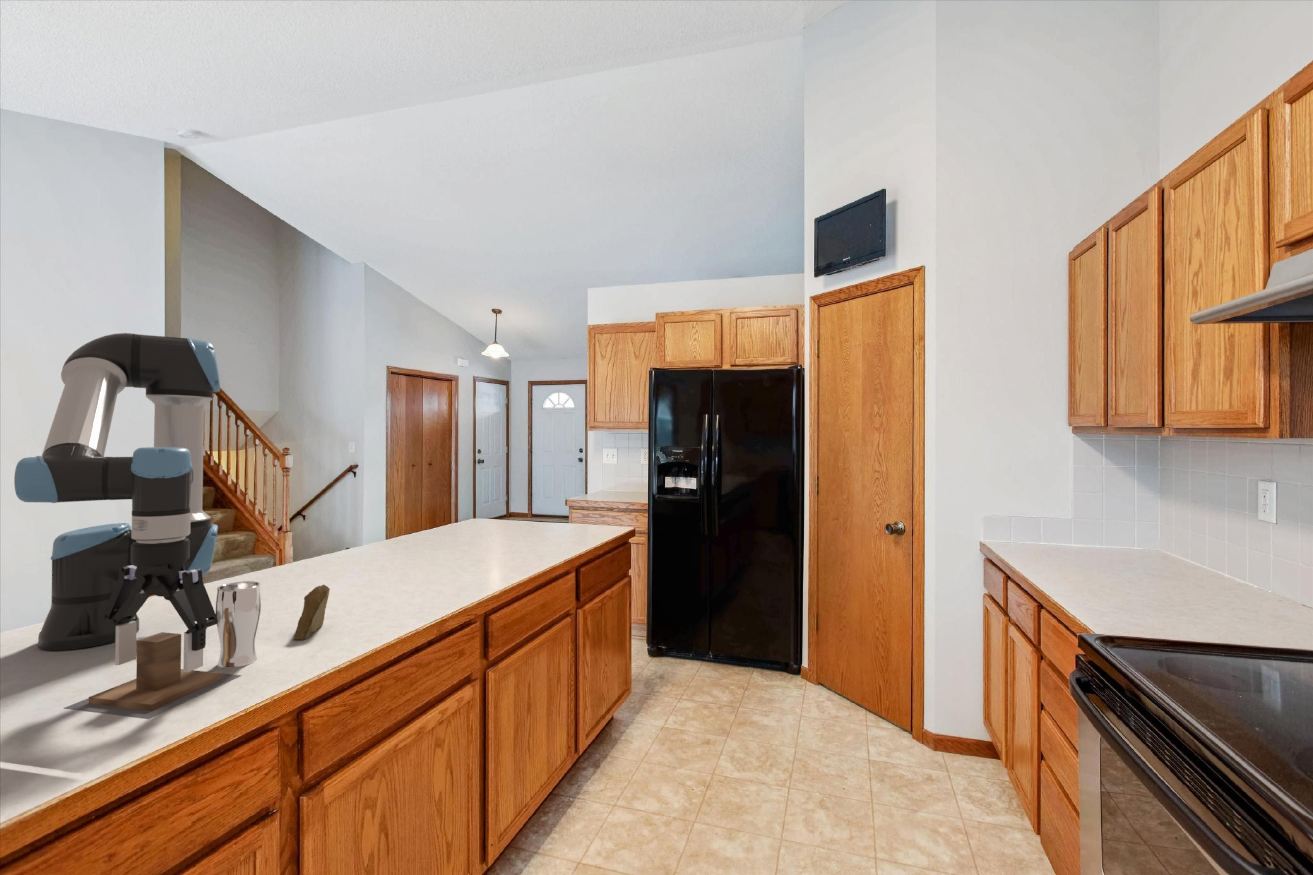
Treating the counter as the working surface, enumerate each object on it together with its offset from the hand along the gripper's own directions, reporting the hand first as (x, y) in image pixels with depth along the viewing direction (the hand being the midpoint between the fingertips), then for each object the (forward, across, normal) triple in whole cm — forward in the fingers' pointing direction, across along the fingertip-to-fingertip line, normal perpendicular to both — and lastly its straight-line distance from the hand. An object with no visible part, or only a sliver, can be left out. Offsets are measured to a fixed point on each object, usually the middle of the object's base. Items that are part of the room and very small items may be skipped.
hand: (159, 665), depth 96 cm
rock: (+5, +1, +31) cm, 31 cm away
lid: (+4, 0, 0) cm, 4 cm away
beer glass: (+5, +2, +13) cm, 14 cm away
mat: (+5, 0, 0) cm, 5 cm away
